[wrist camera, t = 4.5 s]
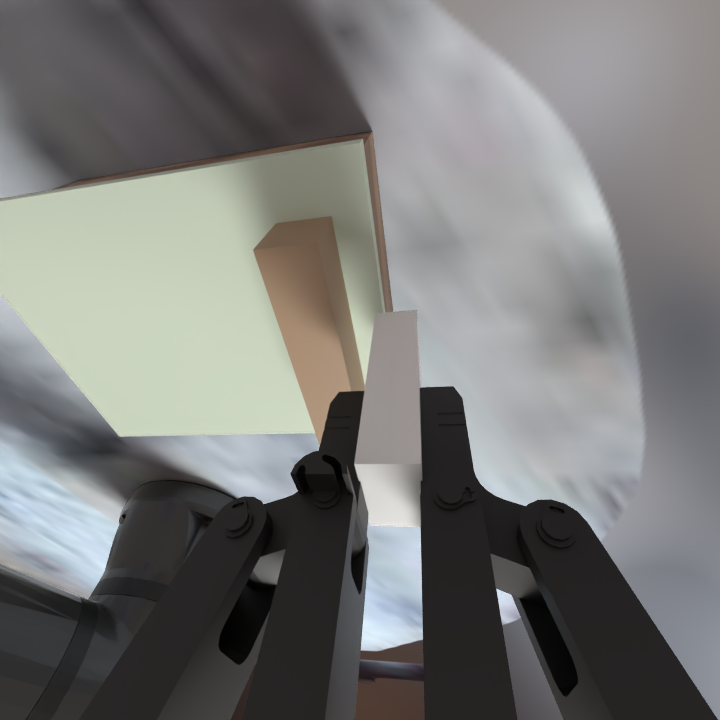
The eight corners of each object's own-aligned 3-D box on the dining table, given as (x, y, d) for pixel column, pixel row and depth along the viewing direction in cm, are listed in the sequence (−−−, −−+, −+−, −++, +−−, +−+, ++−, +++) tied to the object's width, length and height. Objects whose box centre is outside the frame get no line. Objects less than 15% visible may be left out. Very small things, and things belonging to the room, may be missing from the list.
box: (178, 356, 27) (130, 416, 22) (78, 180, 20) (-25, 215, 15) (396, 343, 24) (393, 409, 19) (372, 131, 17) (357, 155, 12)
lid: (127, 426, 22) (92, 471, 20) (-48, 206, 15) (-142, 234, 12) (399, 419, 19) (397, 471, 17) (363, 138, 12) (349, 158, 9)
